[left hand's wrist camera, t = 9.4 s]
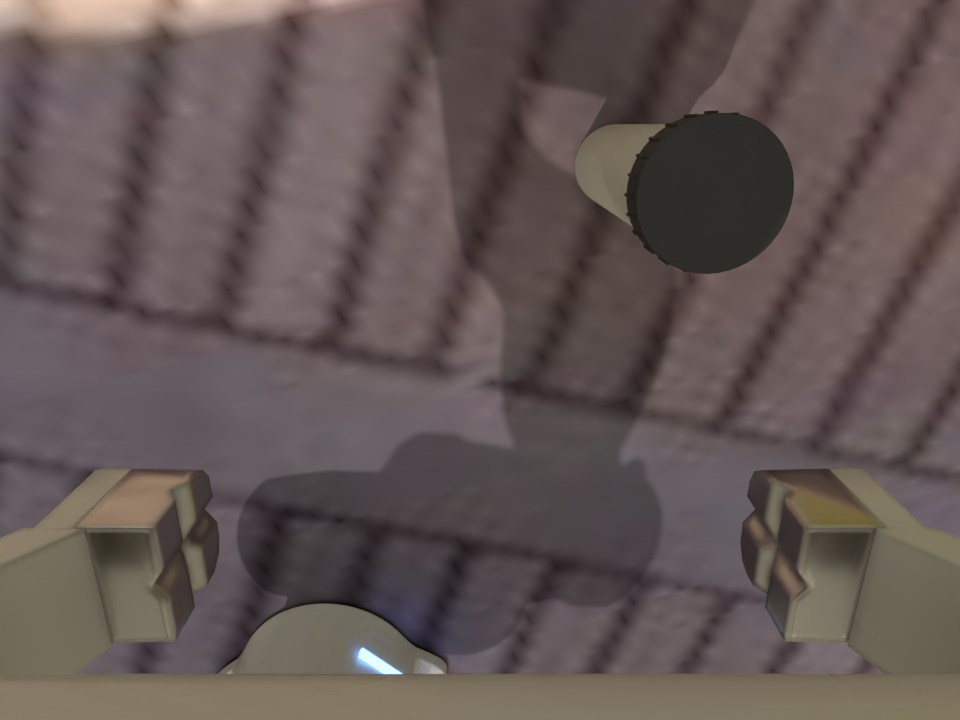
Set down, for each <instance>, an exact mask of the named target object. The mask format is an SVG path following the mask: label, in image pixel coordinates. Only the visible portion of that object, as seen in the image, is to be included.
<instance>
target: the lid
mask: <svg viewBox="0 0 960 720" xmlns="http://www.w3.org/2000/svg"><path fill="white" fill-rule="evenodd" d="M718 112H719V111H705V112H704V114H687V115H684V118H682V119H679V120H677V121H675V122H673V123H667V124H665V126H666V127H664V128H663V129H662V130H660V131H659V132H658V133H657V134H655V135H654V136H653V137H649V138H648V139H649V141H648V143H647V144H646V145H645V146H644V147H643V149H642V150H641V152H640V153H639V154H636V157H637V158H636V160H635V162H634V164H633V167H632V169H631V172H630V173H628V175H627V176H629V179H628V184H627V193H624V196H625V197H626V200H627V210H628V213H626V216H628V217H629V218H630V222H631V224H632V226H633V229H634V231H633V233H634V234H635V235H637V236H638V237H639V239H640V240H641V241H642V242H643V243H644V246H643V247H644V248H645V249H647V250H648V251H649V252H651V253H652V254H653V253H655V254H656V255H657V256H659V257H658V258H659V259H660V260H661V261H663V262H664V263H665V264H667V265H669V264H671V265H672V266H675V267H677V268H679V269H682V270H683V271H685V272H687V271H688V272H693V273H703V274H710V273H719V272H724V271H728V270H731V269H734V268H737V267H739V266H741V265H743V264H745V263H747V262H749V261H750V260H752V259H753V258H755V257H756V256H758V255H759V254H760V253H761V252H762V251H764V250H765V249H766V248H767V247H768V246H769V244H770V243H771V242H772V241H773V240H774V239H775V237H776V236H777V235H778V233H779V232H780V230H781V228H782V227H783V225H784V223H785V221H786V218H787V216H788V214H789V210H790V207H791V204H792V198H793V189H794V180H793V171H792V166H791V162H790V159H789V157H788V154H787V152H786V150H785V148H784V146H783V144H782V143H781V142H780V140H779V139H778V138H777V136H776V135H775V134H774V133H773V132H772V131H771V130H770V129H768V128H767V127H766V126H764V125H763V124H761V123H760V122H758V121H757V120H754V119H752V118H749V117H746V116H743V115H739V114H740V113H718Z"/></svg>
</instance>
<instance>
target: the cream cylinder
mask: <svg viewBox="0 0 960 720" xmlns="http://www.w3.org/2000/svg"><path fill="white" fill-rule="evenodd" d="M664 127H666V126H665V124H612V125H607V126H603V127H601V128H599V129H597V130H595V131H594V132H592V133H591V134H590V135H589V136H588V137H587V138H586V139H585V140H584V141H583V143H582V144H581V146H580V148H579V150H578V152H577V155H576V159H575V175H576V179H577V182H578V184H579V186H580V188H581V190H582V191H583V192H584V193H585V194H586V195H587V196H588V197H589V198H590V199H592V200H593V201H595V202H596V203H598V204H599V205H601V206H602V207H604V208H605V209H607V210H608V211H610V212H611V213H613V214H614V215H616V216H617V217H619V218H620V219H622V220H623V221H625V222H626V223H628V224H629V225H631V226H632V224H631V222H630V218H629V217H628V216H626V213H628V210H627V200H626V197H625V196H624V193H627V184H628V179H629V176H627V175H628V173H630V172H631V169H632V167H633V164H634V162H635V160H636V158H637V157H636V154H639V153H640V152H641V150H642V149H643V147H644V146H645V145H646V144H647V143H648V141H649V139H648V138H649V137H653V136H654V135H655V134H657V133H658V132H659V131H660V130H662V129H663V128H664ZM632 227H633V226H632Z"/></svg>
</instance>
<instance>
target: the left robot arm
mask: <svg viewBox="0 0 960 720" xmlns="http://www.w3.org/2000/svg"><path fill="white" fill-rule="evenodd" d="M212 497H213V494H212V489H211V484H210V479H209V476H208V475H207V474H206V473H205V472H204V471H203V470H182V469H134V468H113V469H99V470H95V471H94V472H93V473H92V474H91V475H90V476H89V477H88V478H87V479H86V480H85V481H84V482H83V483H82V484H80V485H79V486H78V487H77V488H76V489H75V490H74V491H73V492H72V493H71V494H70V495H69V496H68V497H67V498H66V499H65V500H63V501H62V502H61V503H60V504H59V505H58V506H57V507H56V508H55V509H54V510H53V511H52V512H51V513H50V514H49V515H48V516H46V517H45V518H44V519H43V520H42V521H41V522H40V523H39V524H38V525H37V526H36V527H35V528H28V529H20V530H18V531H15V532H13V533H11V534H8V535H6V536H3V537H1V538H0V720H960V538H959V537H957V536H954V535H952V534H949V533H947V532H945V531H942V530H940V529H933V528H925V527H924V526H923V525H922V524H921V523H920V522H919V521H918V520H917V519H916V518H915V517H914V516H913V515H912V514H910V513H909V512H908V511H907V510H906V509H905V508H904V507H903V506H902V505H901V504H900V503H899V502H898V501H897V500H896V499H895V498H894V497H892V496H891V495H890V494H889V493H888V492H887V491H886V490H885V489H884V488H883V487H882V486H881V485H880V484H879V483H878V482H877V481H876V480H874V479H873V478H872V477H871V476H870V475H869V474H868V473H867V472H866V471H864V470H861V469H858V468H840V469H795V470H761V471H754V473H753V475H752V478H751V480H750V483H749V489H748V494H747V497H748V498H749V500H750V501H751V503H752V504H753V506H754V508H755V510H754V511H753V512H752V513H751V514H750V515H749V516H748V517H747V518H746V519H745V520H744V522H743V526H742V534H741V551H742V561H743V564H744V567H745V570H746V573H747V575H748V577H749V579H750V581H751V583H752V584H753V586H755V587H756V588H758V589H760V590H761V591H763V592H764V593H766V594H767V599H766V605H765V607H766V609H767V611H768V613H769V614H770V616H771V618H772V620H773V621H774V623H775V625H776V627H777V628H778V630H779V632H780V633H781V635H782V637H783V639H784V640H785V641H799V642H836V643H848V646H849V647H850V648H852V649H853V650H854V651H855V652H857V653H858V654H859V655H861V656H862V657H863V658H865V659H866V660H867V661H869V662H870V663H871V664H873V665H874V666H875V667H877V668H878V669H879V670H880V671H882V672H883V673H884V674H447V665H446V663H445V662H444V661H443V660H442V659H440V658H439V657H437V656H435V655H433V654H431V653H429V652H427V651H424V650H422V649H420V648H417V647H415V646H414V645H412V644H411V643H410V642H409V641H408V640H407V639H406V638H405V637H404V636H403V635H402V634H401V633H400V632H399V631H398V630H396V629H395V628H394V627H393V626H392V625H390V624H389V623H387V622H386V621H384V620H383V619H381V618H379V617H378V616H376V615H374V614H371V613H369V612H367V611H364V610H361V609H358V608H355V607H351V606H346V605H340V604H328V603H321V604H309V605H303V606H298V607H295V608H291V609H289V610H286V611H283V612H281V613H279V614H277V615H275V616H274V617H272V618H270V619H269V620H267V621H266V622H265V623H264V624H262V625H261V626H260V627H259V628H258V629H257V630H256V631H255V633H254V634H253V635H252V637H251V638H250V640H249V641H248V643H247V645H246V647H245V649H244V651H243V652H242V654H241V655H240V656H239V658H238V659H236V660H235V661H233V662H232V663H230V664H229V665H227V666H226V667H224V668H223V669H222V670H221V671H220V672H219V673H218V674H76V673H77V672H78V671H80V670H81V669H82V668H84V667H85V666H86V665H88V664H89V663H90V662H92V661H93V660H94V659H96V658H97V657H98V656H100V655H101V654H102V653H103V652H105V651H106V650H107V649H109V648H110V647H111V646H112V643H124V642H159V641H176V639H177V637H178V635H179V634H180V632H181V630H182V628H183V627H184V625H185V623H186V621H187V620H188V618H189V616H190V614H191V613H192V611H193V609H194V607H195V605H194V599H193V594H194V593H196V592H197V591H199V590H200V589H202V588H204V587H205V586H207V584H208V583H209V581H210V579H211V577H212V575H213V573H214V571H215V567H216V563H217V558H218V554H219V532H218V525H217V522H216V520H215V519H214V518H213V517H212V516H211V515H210V514H209V513H208V512H207V511H206V510H205V508H206V506H207V505H208V503H209V501H210V500H211V498H212Z"/></svg>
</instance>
